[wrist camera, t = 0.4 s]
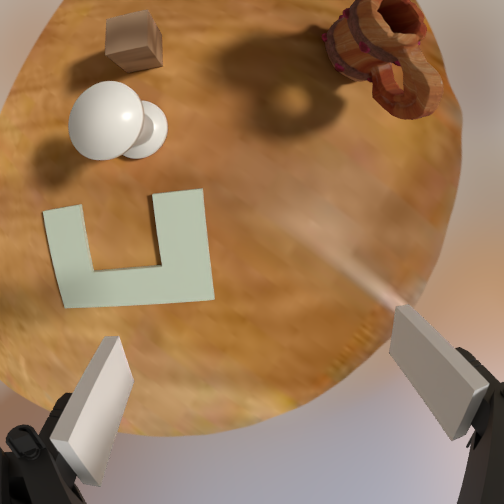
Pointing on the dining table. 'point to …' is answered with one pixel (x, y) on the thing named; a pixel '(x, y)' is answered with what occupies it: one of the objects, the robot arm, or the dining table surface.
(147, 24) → the block
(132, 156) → the knob
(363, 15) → the mug
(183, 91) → the dining table surface
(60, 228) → the notched board
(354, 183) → the dining table surface
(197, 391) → the dining table surface
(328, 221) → the dining table surface
